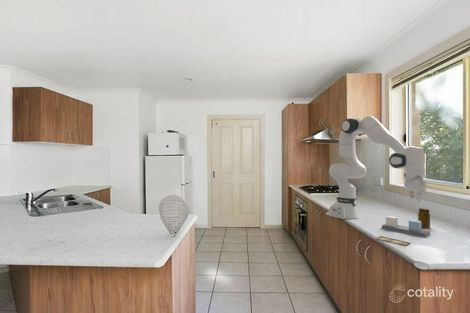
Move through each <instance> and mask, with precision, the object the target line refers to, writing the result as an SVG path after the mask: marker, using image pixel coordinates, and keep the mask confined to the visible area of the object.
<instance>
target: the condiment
mask: <svg viewBox="0 0 470 313" xmlns="http://www.w3.org/2000/svg"><path fill="white" fill-rule="evenodd" d="M417 221H421V229H430V228H431V213H430V209H429V208H421V207H420V208H418V214H417Z"/></svg>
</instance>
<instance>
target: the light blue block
mask: <svg viewBox="0 0 470 313" xmlns="http://www.w3.org/2000/svg"><path fill="white" fill-rule="evenodd" d="M408 227H409V230H414V231H420V230H421V229H422V227H421V221H418V219H417V220H416V219H409V220H408Z"/></svg>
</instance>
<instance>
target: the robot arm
mask: <svg viewBox="0 0 470 313" xmlns="http://www.w3.org/2000/svg"><path fill="white" fill-rule="evenodd" d="M340 128H341V130H342V131H340V134H339V139H338V155H339V156H340V158H341V159H344V160H346V162H347V163H334V164H331V165H330V166H329V170H328V173H329V175H330V177H331V178H332V179H334V180H335V182H336V183H337V185H338V189H339V190H338V192H339V194H338V195H339V196H338V197H336V202H335V203H333V204H331V205H329V209H328V211H327V212H325V215H327V216H329V217H330V216H331V217H333V218H337V219H343V220H344V219H345V220H346V219H347V220H349V219H351V220H352V219H358V218H359V214H358V212H357V204H358V203H357V198H356V197H357V196H356V195H357V191H356V190H357V188H356V186H355V185H353V184H352V182H351V183H350V182H349V180H348V179H362V178H364V177H366V175H367V168H366V166H365V165H364V164H363V163H361V162H360V160H359V159H358V156H357V150H356V138H357V136H358V137H361V136H363V135H366V136H367V137H368V138H369V140H370V141H372V142H373V143H375V144H379V145H383V146H386V147H388V148H391V150H393V151H394V153H392V154H390V156H389V157H388V163H389V165H390V166H391V168H394V169H400V170H401V169H405V172H404V173H403V177H404V185H405V189H406V190H408V193H409V198H410V199H415V200H416V201H417V202H421V200H422V196H423V195H424V194H426V192H427V186H426V180H425V177H426V175H425V172H426V169H425V161H426V160H425V152H424V151H425V150H424V149H423V148H422V147H421V146H420V147H419V146H413V145H411V146H405V145H404V144H403V143H402V142H401V141H400V140H399V139H398V138H397V137H395V136H394V135H393V134H392V133H391V132H389V130H388V129H387V128H386V127H384V125H383V124H382V123H381V122H380V121H379V120H378V119H377V118H375V117H374V116H372V115H369V116H365V117H363V118H346V119H343V121H342V123H341V126H340ZM415 193H416V197H415Z"/></svg>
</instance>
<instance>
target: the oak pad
mask: <svg viewBox="0 0 470 313" xmlns="http://www.w3.org/2000/svg"><path fill="white" fill-rule="evenodd" d="M376 240H379V241H383V242H387V243H391V244H396V245H399V246H405V247H407V246H408V245H410V244H411V242H408V241H404V240H399V239H397V238H396V239H395V238H391V237H386V236H381V235H380V236H378V237H376Z"/></svg>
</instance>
